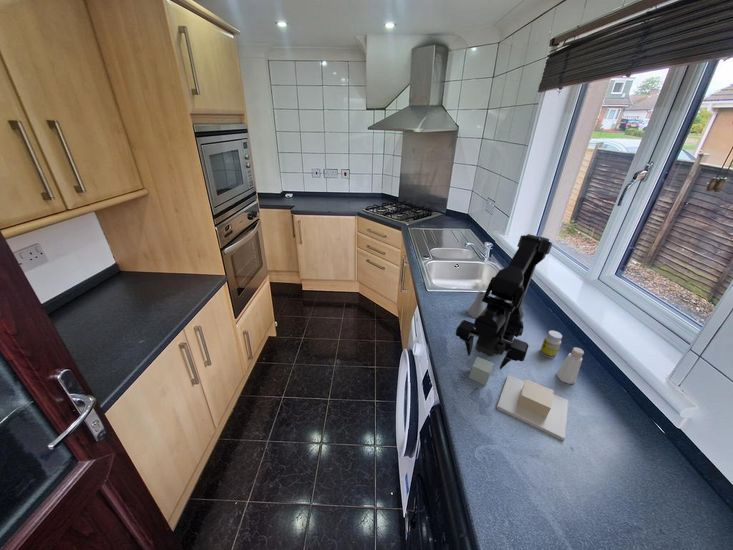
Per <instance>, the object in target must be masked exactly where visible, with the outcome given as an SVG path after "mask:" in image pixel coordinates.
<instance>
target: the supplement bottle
mask: <svg viewBox="0 0 733 550" xmlns="http://www.w3.org/2000/svg"><path fill="white" fill-rule="evenodd" d="M562 339H563V335H562V333H560V332H559V331H556V330H549V331H548V333H547V335H546V336H545V337H544V339H543V342H542V344H541V347H540V353H541V354H542V356H543V357H545V358H550V359H554V358H555V357H556V356H557V353H558V351H559V349H560V346H561V345H562Z"/></svg>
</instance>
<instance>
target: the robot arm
mask: <svg viewBox="0 0 733 550" xmlns="http://www.w3.org/2000/svg"><path fill="white" fill-rule="evenodd" d="M516 247H518V248H517V250H516V252H515V254H514V255H513V256H512V259H511V260H510V262H509V263H508V265H507V266H506V267H505V268H502V269H499V270H498V272H497V273H496V274H495V276H492V278H491V279H490V281H489V283H488V286H487V288H486V289H485V292H484V293H485V294H484V297H483V299H482V302H484V304H487V305H486V306H485V309H484V311H483V312H482V313H481V314H480V315H479V316H478V317H477V318H475V319H474V322H472V321H469V320H465V319H463V320H461V322H459V324H458V326H457V328H456V330H455V335H456V337H459V339H460V340H462V341H463V342H464V343H465V346H466V347H465V348H466V351H467V356H468V357H470V356H471V353H472V349H473V344H474V338H477V340H476V345H475V350H476V352H477V353H481V354H483V355H486V356H487V357H491V358H493V357H494V355H496V356H499V355H500V356H503V354H504V351H506V353H505V355H504V358H503V359H502V361H501V364H500V366H499V370H502V369H503V368H504V367H505V366H506V365H507V364H508V363H509V362H511V361H514V362H517V361H519V362H524V361H525V358H526V355H527V352H528V349H529V344H528V342H525V341H522V340H520V339H517V338H518V337H520V336H522V334H523V331H524V321H522V320H523V318H524V312H523V309H522V305H523V302H524V300H525V297H526V295H527V291H528V289H529V286H530V282H531V280H532V278H533V274H534V272H535V269H536V267H537V265H538V264H539V263H540V262H542V261H543V260H544V259H545V258H546V255H549V254H550V252H551V249H552V247H553V243H552V242H551V241H550V239H549V238H547V237H542V236H538V235H535V234H530V233H528V234H526V235H525V234H524V235H520V238H519V240H518V243H517V246H516ZM490 294H491V296H490ZM493 296H494V297H493Z"/></svg>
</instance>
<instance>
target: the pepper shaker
mask: <svg viewBox="0 0 733 550" xmlns="http://www.w3.org/2000/svg"><path fill="white" fill-rule="evenodd" d="M584 354H585V352H584V350H583V349H582V348H580V347H575V346H574V347H573V348H572V350H571V352H569V353H568V354H567V356H566V357H565V359H564V360H563V362H562V364H561V366H560V367H559V369H558V370H557V372H556V374H555V375H556V377H557V378H558V379H559V380H560V381H562V382H563V383H566V384H568V385H570V384H573V385H574V384H575V383H576V380H577V378H578V375H579V372H580V368H581V365H582V362H583V355H584Z"/></svg>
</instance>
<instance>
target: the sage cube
mask: <svg viewBox="0 0 733 550" xmlns="http://www.w3.org/2000/svg"><path fill="white" fill-rule="evenodd" d="M494 365H495V364H494V363H493V362H491V361H489V360H486V359H484V358H482V357H479V356H476V359H475V360H474V362H473V364H472V367H471V370H470V372H469V373H470V374H469V379H471V380H473V381H475V382H477V383H480V384H481V385H484V386H487V384H488V382H489V379H490V377H491V375H492V371H493V368H494Z"/></svg>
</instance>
